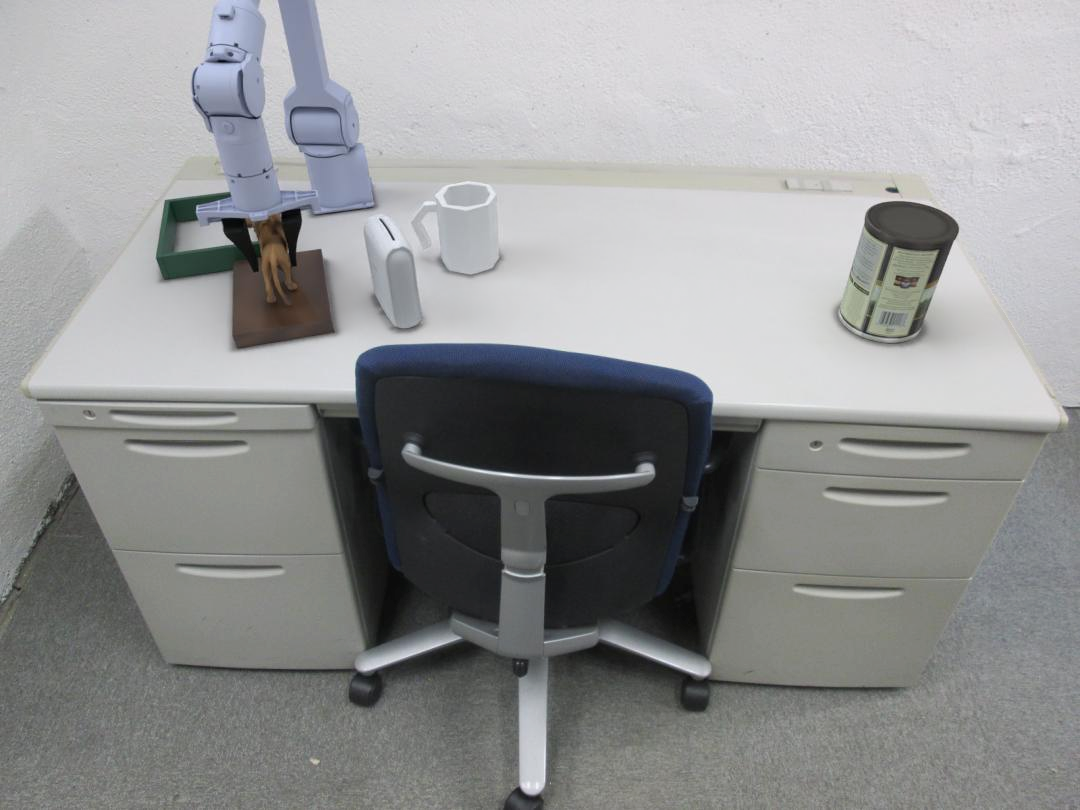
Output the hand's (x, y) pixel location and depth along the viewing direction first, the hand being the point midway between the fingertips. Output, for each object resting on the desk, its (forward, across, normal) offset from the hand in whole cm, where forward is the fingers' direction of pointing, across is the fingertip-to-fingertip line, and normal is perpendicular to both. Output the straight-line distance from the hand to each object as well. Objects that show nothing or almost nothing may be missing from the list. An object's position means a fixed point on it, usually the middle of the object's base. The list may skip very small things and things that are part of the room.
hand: (274, 265), depth 103 cm
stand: (+5, 0, -2) cm, 5 cm away
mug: (+5, +24, +2) cm, 25 cm away
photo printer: (+5, +14, -8) cm, 17 cm away
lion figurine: (+3, 0, +1) cm, 3 cm away
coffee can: (+5, +74, -27) cm, 79 cm away
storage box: (+5, -8, +18) cm, 20 cm away
